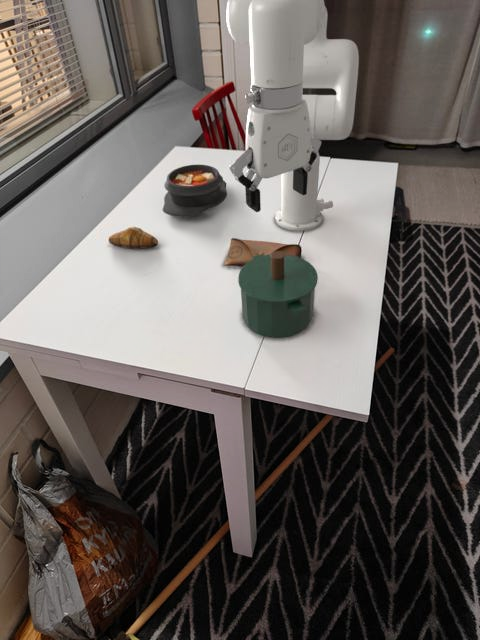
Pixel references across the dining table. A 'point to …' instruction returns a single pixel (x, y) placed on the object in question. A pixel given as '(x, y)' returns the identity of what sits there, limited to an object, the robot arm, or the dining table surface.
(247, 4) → the robot arm
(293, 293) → the lid
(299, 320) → the pot
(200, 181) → the casserole
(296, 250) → the sunglasses case
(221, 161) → the dining table surface
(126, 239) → the croissant
